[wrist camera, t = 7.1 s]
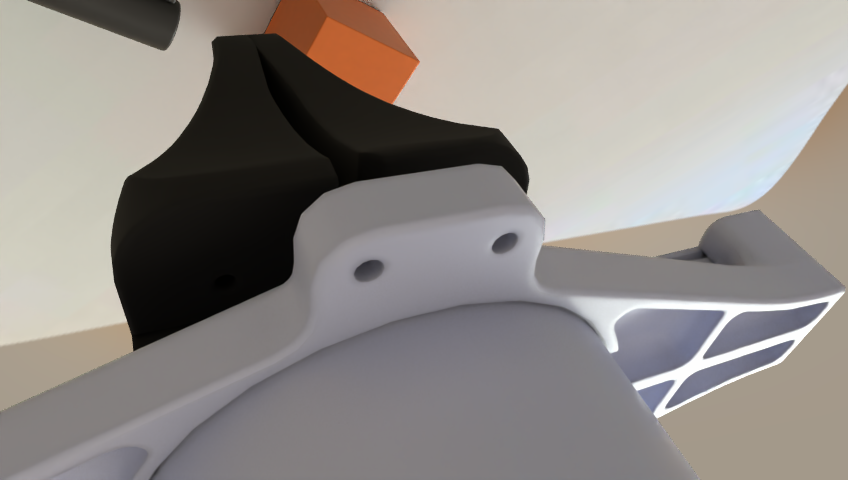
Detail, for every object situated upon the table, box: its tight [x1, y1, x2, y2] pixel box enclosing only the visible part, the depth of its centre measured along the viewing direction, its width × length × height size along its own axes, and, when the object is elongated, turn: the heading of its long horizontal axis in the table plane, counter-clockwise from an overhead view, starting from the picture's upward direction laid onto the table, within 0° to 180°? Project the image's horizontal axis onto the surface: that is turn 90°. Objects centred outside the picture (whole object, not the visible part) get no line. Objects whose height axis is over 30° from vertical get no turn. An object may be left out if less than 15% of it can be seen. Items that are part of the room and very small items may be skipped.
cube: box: [264, 0, 420, 104], centre depth 23 cm, size 4×4×4 cm
